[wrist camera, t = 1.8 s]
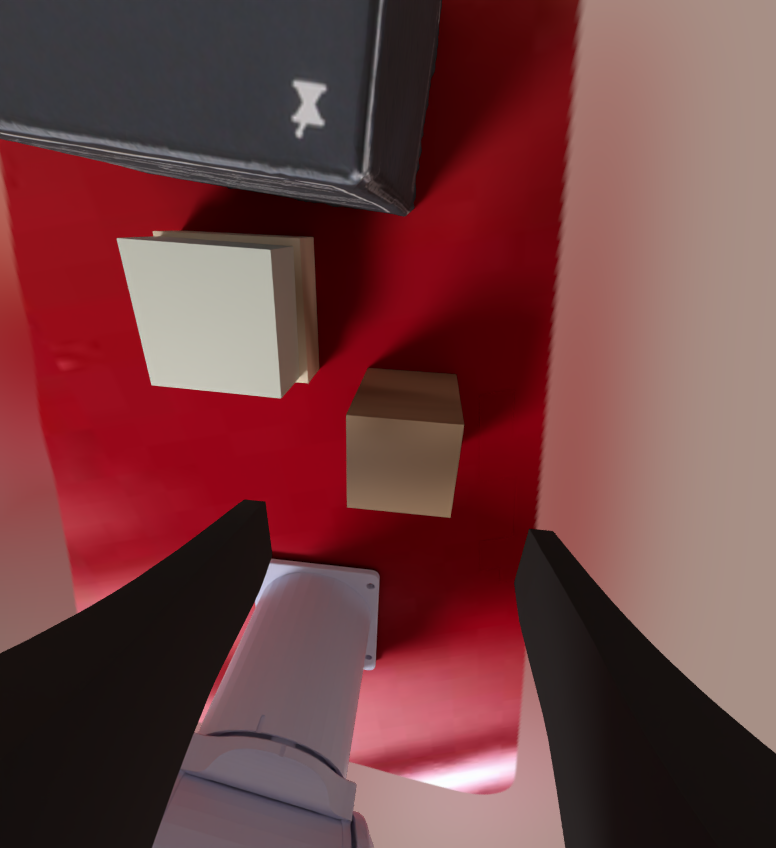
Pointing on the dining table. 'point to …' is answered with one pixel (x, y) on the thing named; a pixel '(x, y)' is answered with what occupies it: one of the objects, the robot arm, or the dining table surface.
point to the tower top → (215, 313)
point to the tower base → (303, 287)
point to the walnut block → (404, 442)
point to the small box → (229, 91)
